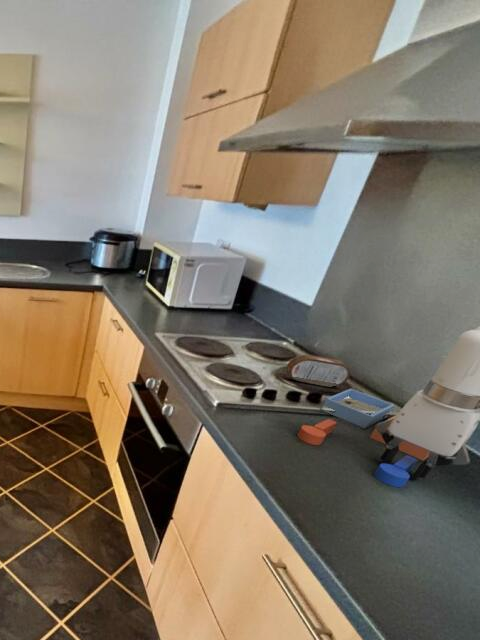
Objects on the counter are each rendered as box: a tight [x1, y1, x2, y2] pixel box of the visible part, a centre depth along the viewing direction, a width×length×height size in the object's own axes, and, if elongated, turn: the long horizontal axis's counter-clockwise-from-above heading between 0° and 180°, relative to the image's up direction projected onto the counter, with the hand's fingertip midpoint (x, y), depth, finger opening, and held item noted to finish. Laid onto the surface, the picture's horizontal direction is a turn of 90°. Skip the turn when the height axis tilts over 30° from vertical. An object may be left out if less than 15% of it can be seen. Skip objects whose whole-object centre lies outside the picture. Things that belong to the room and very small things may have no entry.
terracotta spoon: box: [296, 418, 338, 446], centre depth 97 cm, size 5×11×3 cm, turn 119°
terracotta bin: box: [369, 414, 430, 461], centre depth 97 cm, size 10×14×4 cm
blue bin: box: [320, 388, 396, 429], centre depth 108 cm, size 10×14×4 cm
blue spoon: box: [373, 454, 419, 488], centre depth 85 cm, size 5×11×3 cm, turn 119°
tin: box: [285, 354, 351, 386], centre depth 122 cm, size 15×3×8 cm, turn 71°
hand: (400, 470), depth 87 cm, fingers open, 4 cm apart
